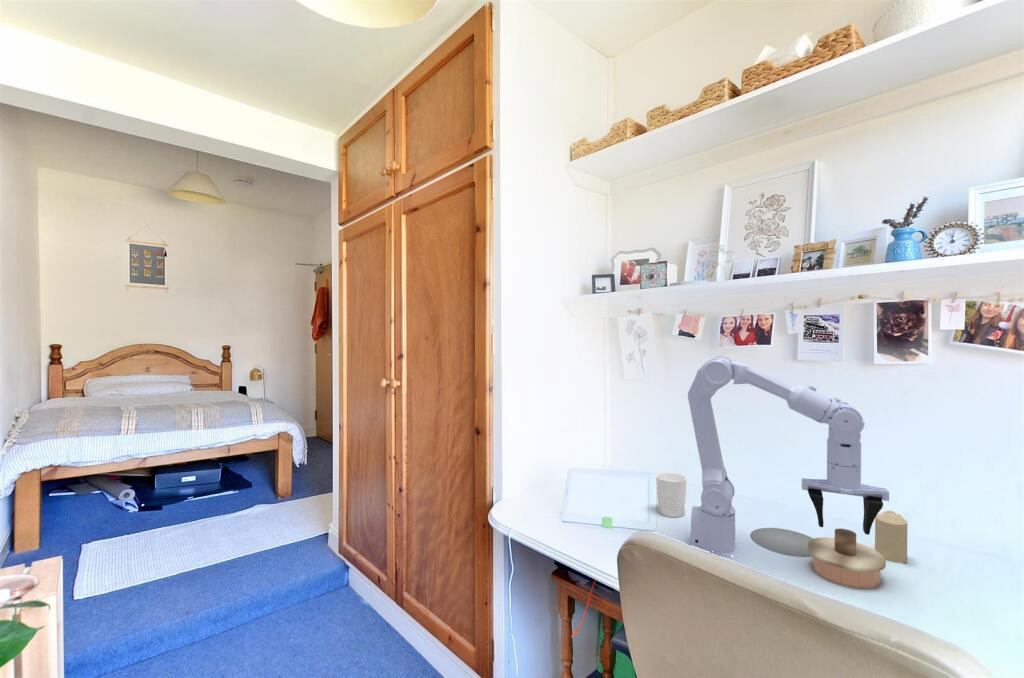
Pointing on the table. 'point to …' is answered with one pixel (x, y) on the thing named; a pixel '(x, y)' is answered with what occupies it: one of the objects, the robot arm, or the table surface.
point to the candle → (891, 536)
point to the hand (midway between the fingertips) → (843, 528)
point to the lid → (846, 552)
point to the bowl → (846, 575)
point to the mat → (782, 541)
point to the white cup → (671, 494)
